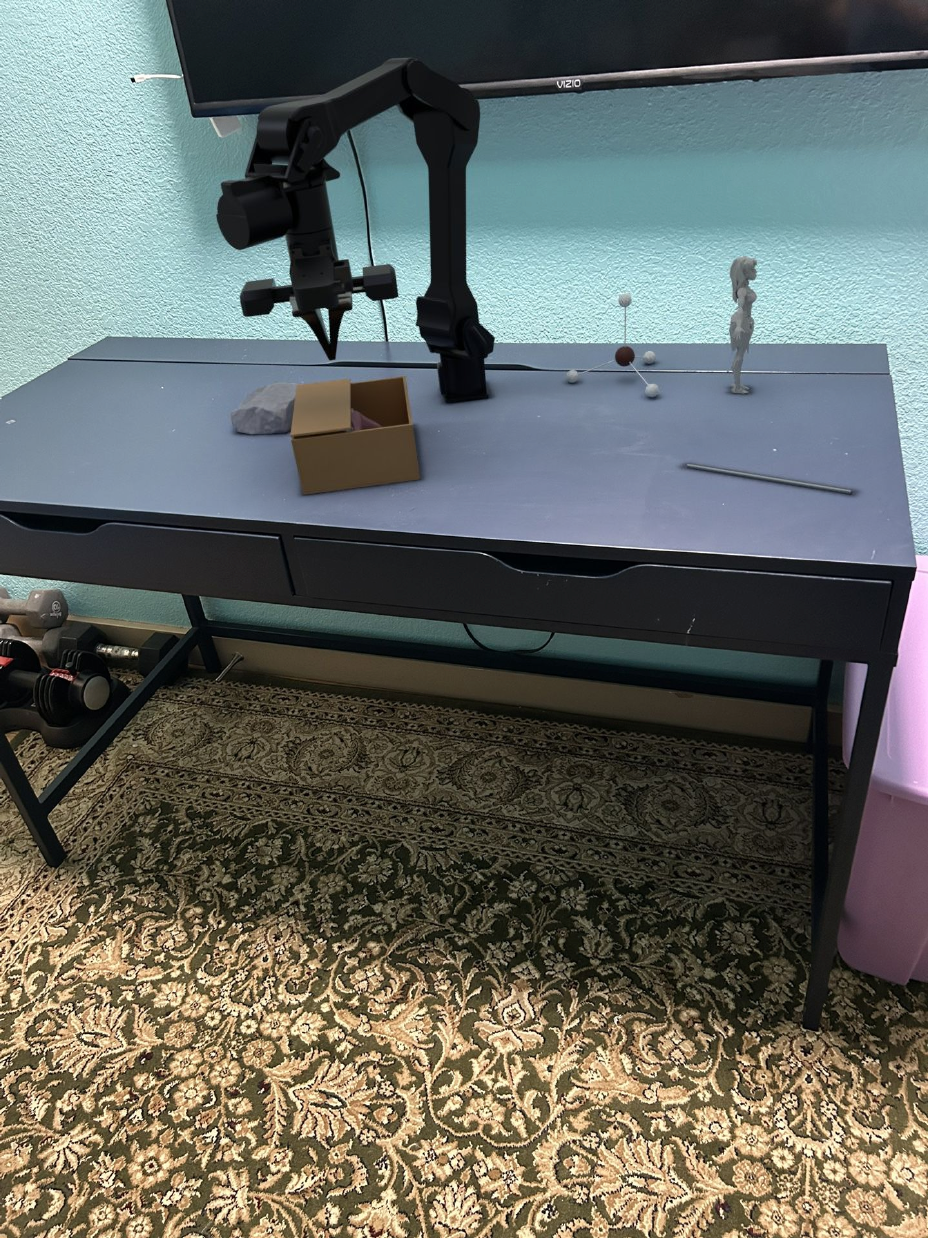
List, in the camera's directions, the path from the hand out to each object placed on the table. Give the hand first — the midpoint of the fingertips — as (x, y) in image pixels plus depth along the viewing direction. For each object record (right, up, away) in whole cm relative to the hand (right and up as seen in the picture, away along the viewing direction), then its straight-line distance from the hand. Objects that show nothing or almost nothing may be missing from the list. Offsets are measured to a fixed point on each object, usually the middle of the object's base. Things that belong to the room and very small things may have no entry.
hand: (332, 359), depth 114 cm
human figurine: (+55, -1, +13) cm, 56 cm away
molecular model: (+41, +1, +18) cm, 45 cm away
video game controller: (+4, -11, +6) cm, 13 cm away
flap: (-1, -6, +1) cm, 6 cm away
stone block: (-12, -3, +20) cm, 24 cm away
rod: (+52, -17, -9) cm, 55 cm away
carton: (+3, -12, +6) cm, 13 cm away
